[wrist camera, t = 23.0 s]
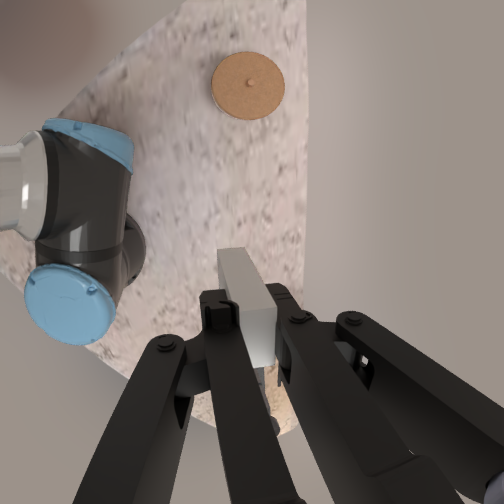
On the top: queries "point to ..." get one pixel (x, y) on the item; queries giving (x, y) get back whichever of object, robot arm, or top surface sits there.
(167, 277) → the top surface
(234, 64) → the lidded jar
